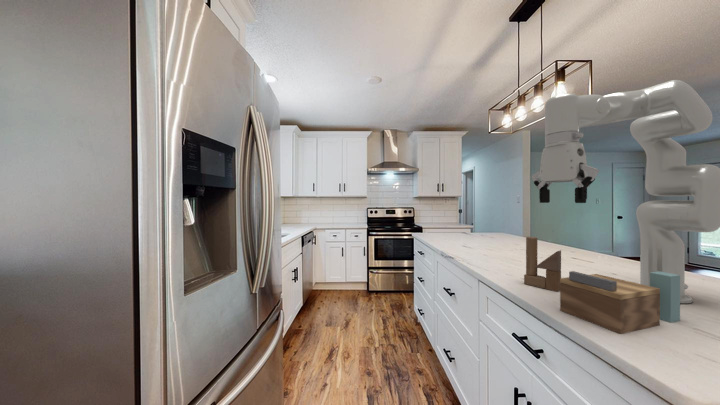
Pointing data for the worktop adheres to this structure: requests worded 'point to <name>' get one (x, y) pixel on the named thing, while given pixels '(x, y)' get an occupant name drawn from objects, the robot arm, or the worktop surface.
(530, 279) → the wooden block structure
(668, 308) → the teal rectangular block
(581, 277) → the lid
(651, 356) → the worktop surface
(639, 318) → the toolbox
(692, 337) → the worktop surface
